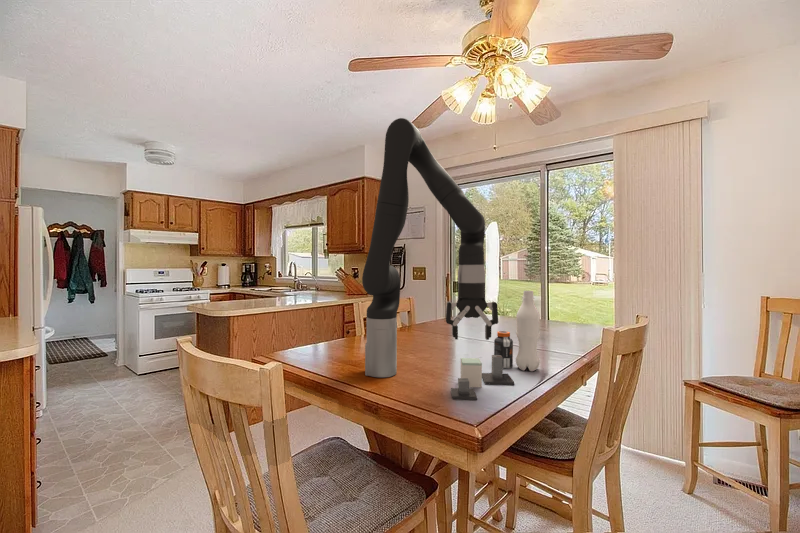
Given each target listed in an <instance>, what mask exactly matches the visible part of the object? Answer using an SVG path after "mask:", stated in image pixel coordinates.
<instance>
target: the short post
mask: <svg viewBox="0 0 800 533" xmlns="http://www.w3.org/2000/svg"><path fill="white" fill-rule="evenodd" d="M450 393H451V397H452V398H451V399H452V400H455V401H457V400H461V401H477V400H478V397H477V396H478V395H477V393H476V391H475V388H470V387H469V379H468V378H461V377H459V378H457V388H456V387H451V388H450Z"/></svg>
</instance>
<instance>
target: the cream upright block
mask: <svg viewBox="0 0 800 533" xmlns="http://www.w3.org/2000/svg"><path fill="white" fill-rule="evenodd" d="M482 368H483V363H482V361H481V360H480V358H473V357H471V358H470V357H469V358H468V357H460V378H468V379H469V388H482V385H483V384H482V383H483V382H482V381H483V379H482V373H483V370H482Z"/></svg>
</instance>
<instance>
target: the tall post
mask: <svg viewBox="0 0 800 533" xmlns="http://www.w3.org/2000/svg"><path fill="white" fill-rule="evenodd" d="M503 370H504V368H503V357H502V356H501V355H494V354H492V355H491V372H490V373H489V372H482V381H483V383H484V385H489V386H491V385H494V386H495V385H496V386H515V381H514V380H513V379H512V377H511V376H510V374H509V373H503Z"/></svg>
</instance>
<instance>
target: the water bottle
mask: <svg viewBox="0 0 800 533" xmlns="http://www.w3.org/2000/svg"><path fill="white" fill-rule="evenodd" d="M522 292H523V295H522V303H521V305H520V306H519V309H518V310H517V311H516V312H517V313H516V314H515V315H516V316H515V317H516V332H515V334H516V337H517V341H518V352H517V355H516V358H515V362H516V366H517V367H518V368H519V370H520V371H525V370H526V369H528V371H529V372H535V370H538V368H539V366H540V361H541V360H540V357H539V355H538V349H537V348H538V342H539V339H540V337H541V333H540V324H541V323H540V321H541V315H540V312H539V310H538V308H537V307H536V305H535V304H536V303H535V302H534V299H535V297H534V290H523V291H522Z"/></svg>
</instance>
